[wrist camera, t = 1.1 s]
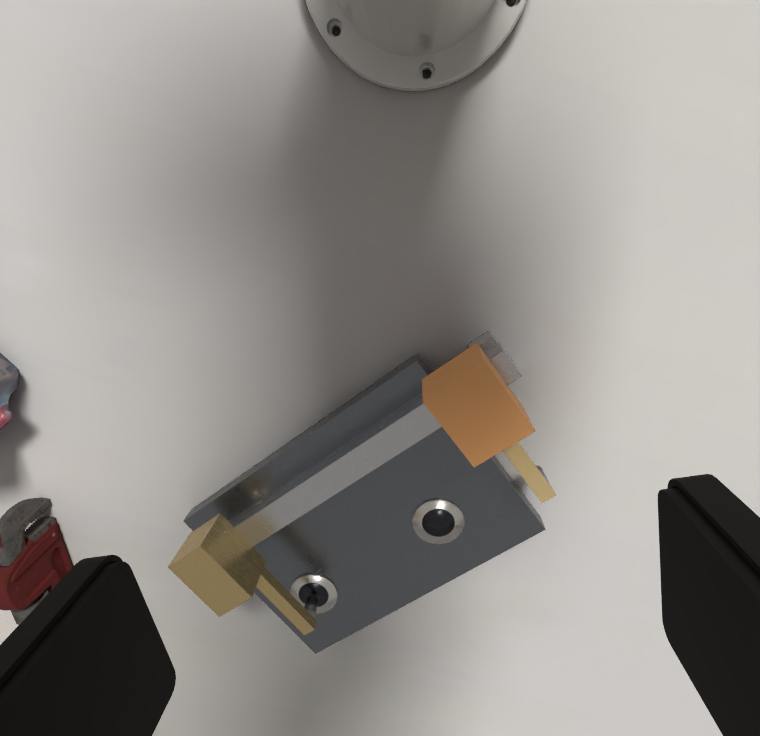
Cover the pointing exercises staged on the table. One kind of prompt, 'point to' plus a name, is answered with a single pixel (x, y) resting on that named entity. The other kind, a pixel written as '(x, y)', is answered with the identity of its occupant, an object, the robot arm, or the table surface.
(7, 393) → the red grey carburetor
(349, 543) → the bolt plate
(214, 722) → the table surface
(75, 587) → the robot arm
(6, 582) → the pipe wrench
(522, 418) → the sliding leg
